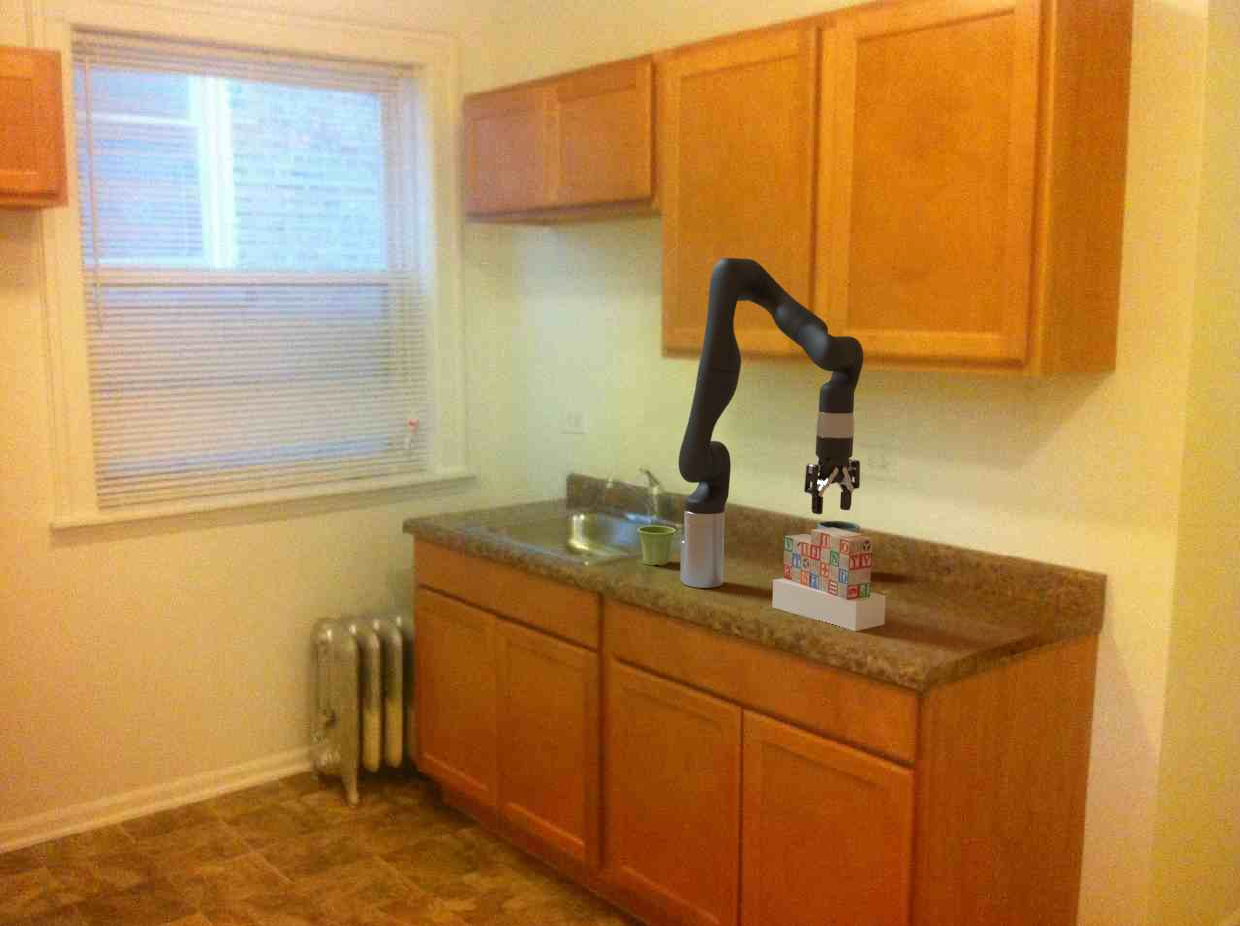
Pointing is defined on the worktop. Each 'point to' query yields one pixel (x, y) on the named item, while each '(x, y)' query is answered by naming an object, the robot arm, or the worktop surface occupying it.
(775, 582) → the block
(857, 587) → the stack of blocks
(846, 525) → the blue cup
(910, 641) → the worktop surface
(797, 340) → the robot arm
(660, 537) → the plant pot
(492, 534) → the worktop surface
